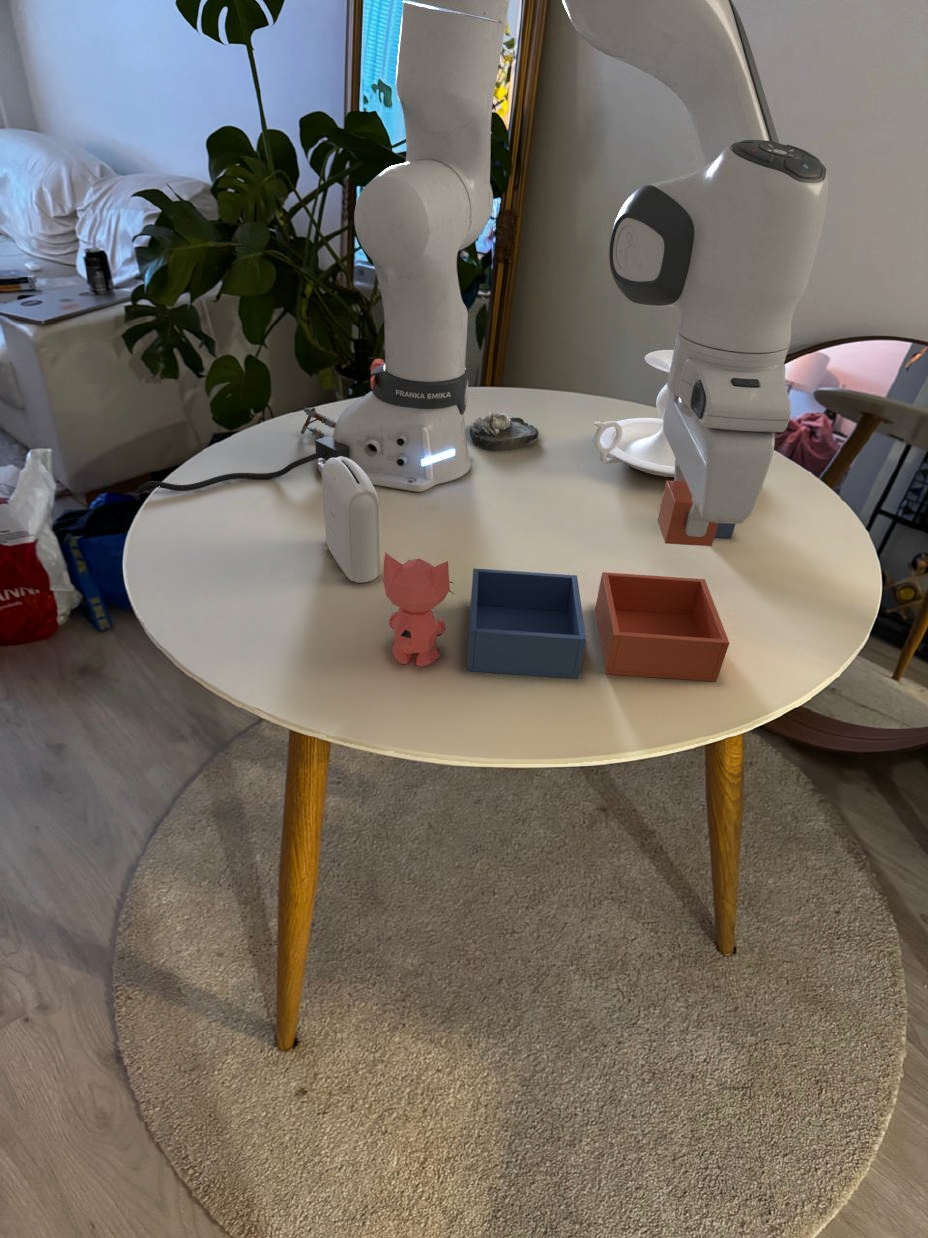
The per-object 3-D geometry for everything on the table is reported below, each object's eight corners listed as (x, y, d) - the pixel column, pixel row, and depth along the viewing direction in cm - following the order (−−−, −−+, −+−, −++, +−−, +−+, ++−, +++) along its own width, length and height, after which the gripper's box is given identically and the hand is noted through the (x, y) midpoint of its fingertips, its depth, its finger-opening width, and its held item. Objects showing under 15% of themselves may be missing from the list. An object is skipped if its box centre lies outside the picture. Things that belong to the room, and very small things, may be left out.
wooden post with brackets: (296, 427, 118) (306, 402, 116) (344, 449, 120) (354, 425, 118) (294, 431, 117) (304, 405, 115) (342, 453, 119) (353, 428, 117)
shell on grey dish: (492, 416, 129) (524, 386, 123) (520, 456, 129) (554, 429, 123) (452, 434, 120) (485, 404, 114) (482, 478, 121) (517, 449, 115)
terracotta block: (665, 543, 71) (675, 501, 68) (657, 520, 74) (666, 480, 72) (711, 546, 71) (723, 504, 68) (701, 523, 74) (712, 482, 72)
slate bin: (466, 671, 75) (469, 631, 72) (470, 605, 84) (473, 567, 81) (578, 678, 75) (586, 639, 72) (570, 612, 84) (577, 575, 81)
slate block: (698, 536, 99) (706, 506, 97) (691, 519, 103) (699, 490, 100) (731, 538, 99) (740, 508, 97) (723, 522, 103) (732, 493, 100)
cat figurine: (454, 641, 79) (460, 542, 72) (442, 684, 73) (447, 581, 66) (388, 631, 80) (387, 533, 72) (371, 673, 74) (368, 571, 67)
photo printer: (322, 543, 93) (315, 449, 85) (355, 537, 95) (351, 444, 87) (349, 587, 86) (345, 489, 78) (385, 580, 87) (383, 482, 80)
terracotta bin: (605, 674, 76) (614, 635, 73) (594, 609, 85) (602, 571, 82) (716, 681, 76) (729, 643, 73) (694, 615, 85) (705, 579, 82)
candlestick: (548, 450, 119) (573, 257, 102) (670, 428, 129) (711, 249, 112) (628, 509, 104) (672, 296, 88) (759, 479, 114) (821, 282, 97)
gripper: (664, 333, 72) (637, 468, 80) (713, 415, 55) (673, 573, 63) (731, 337, 72) (697, 471, 80) (799, 420, 55) (748, 578, 63)
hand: (687, 517), depth 71 cm, fingers closed on terracotta block, 4 cm apart
